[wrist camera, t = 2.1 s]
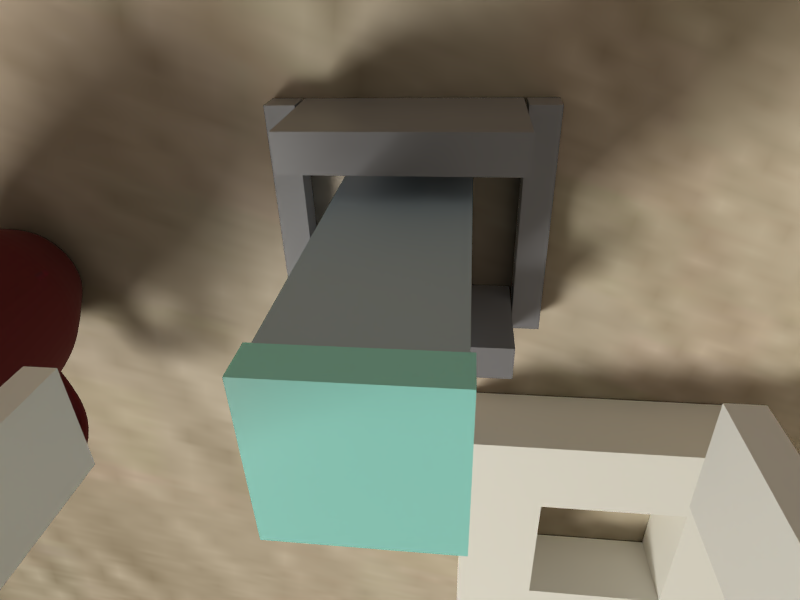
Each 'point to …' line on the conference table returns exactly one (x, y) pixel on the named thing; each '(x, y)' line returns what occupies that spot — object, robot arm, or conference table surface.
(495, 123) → the holster
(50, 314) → the mug
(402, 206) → the plug
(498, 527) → the frame
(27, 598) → the conference table surface
